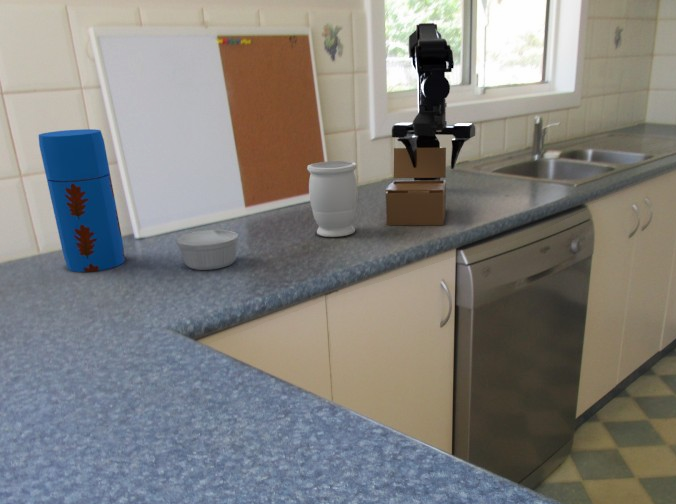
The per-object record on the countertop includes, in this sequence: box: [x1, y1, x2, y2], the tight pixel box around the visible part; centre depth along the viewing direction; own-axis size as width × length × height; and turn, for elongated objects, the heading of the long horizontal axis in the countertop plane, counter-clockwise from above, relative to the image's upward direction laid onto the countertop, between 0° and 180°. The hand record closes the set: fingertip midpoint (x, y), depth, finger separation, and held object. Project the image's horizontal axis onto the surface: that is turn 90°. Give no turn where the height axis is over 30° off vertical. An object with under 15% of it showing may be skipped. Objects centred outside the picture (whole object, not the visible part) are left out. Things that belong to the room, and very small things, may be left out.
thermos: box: [38, 128, 126, 273], centre depth 125 cm, size 11×11×25 cm
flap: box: [393, 147, 447, 179], centre depth 161 cm, size 7×13×1 cm
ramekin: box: [176, 229, 239, 271], centre depth 127 cm, size 11×11×5 cm
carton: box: [385, 179, 447, 226], centre depth 156 cm, size 15×13×8 cm
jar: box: [307, 160, 359, 238], centre depth 144 cm, size 11×10×15 cm
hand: (433, 168), depth 156 cm, fingers open, 9 cm apart
